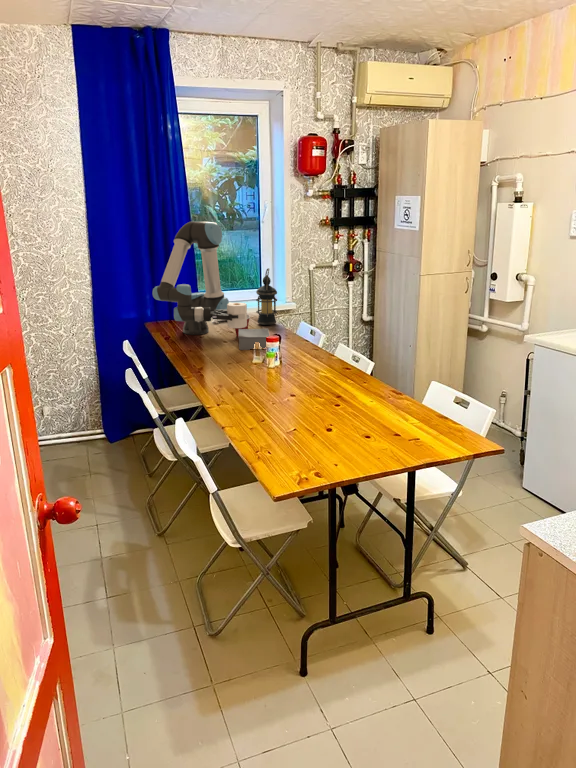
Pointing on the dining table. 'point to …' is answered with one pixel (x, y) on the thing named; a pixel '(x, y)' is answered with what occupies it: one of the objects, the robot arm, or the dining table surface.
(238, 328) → the plastic cup
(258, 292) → the lantern
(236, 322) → the toilet paper
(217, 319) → the rocket engine
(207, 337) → the dining table surface
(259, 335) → the grey box
